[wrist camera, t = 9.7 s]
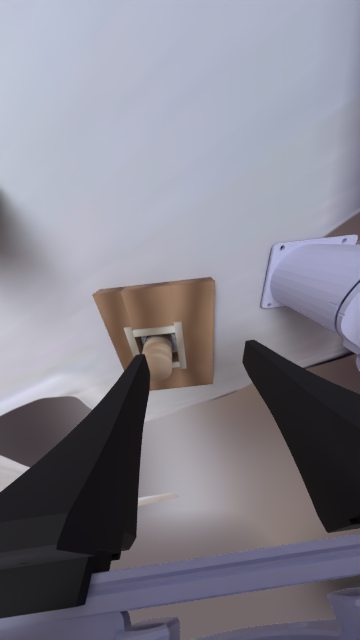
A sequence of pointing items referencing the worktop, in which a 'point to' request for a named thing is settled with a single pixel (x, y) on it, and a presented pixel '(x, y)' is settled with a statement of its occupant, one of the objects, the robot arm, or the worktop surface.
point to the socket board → (164, 325)
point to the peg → (158, 356)
